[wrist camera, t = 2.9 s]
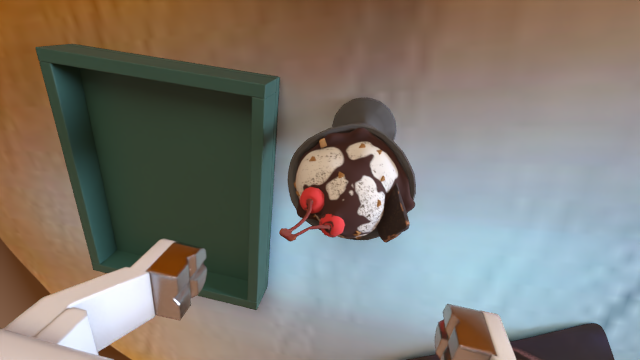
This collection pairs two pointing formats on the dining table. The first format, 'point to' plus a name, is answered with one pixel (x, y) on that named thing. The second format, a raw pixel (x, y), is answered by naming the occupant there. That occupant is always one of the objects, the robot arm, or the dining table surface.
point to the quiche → (561, 345)
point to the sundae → (353, 177)
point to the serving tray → (168, 160)
